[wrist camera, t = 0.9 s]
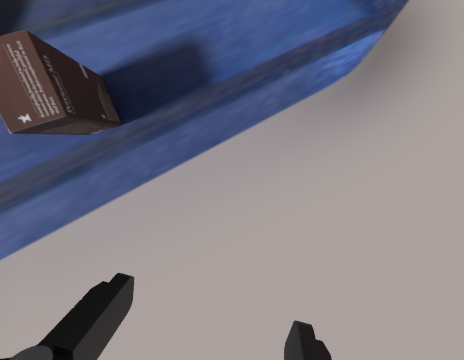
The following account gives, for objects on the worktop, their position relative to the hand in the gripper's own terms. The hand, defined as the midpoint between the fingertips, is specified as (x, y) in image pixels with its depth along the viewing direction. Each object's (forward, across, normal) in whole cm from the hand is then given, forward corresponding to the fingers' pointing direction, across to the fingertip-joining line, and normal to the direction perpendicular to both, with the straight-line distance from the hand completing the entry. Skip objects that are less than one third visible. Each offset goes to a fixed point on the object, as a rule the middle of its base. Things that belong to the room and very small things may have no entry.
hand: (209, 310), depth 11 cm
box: (+18, +19, -6) cm, 27 cm away
